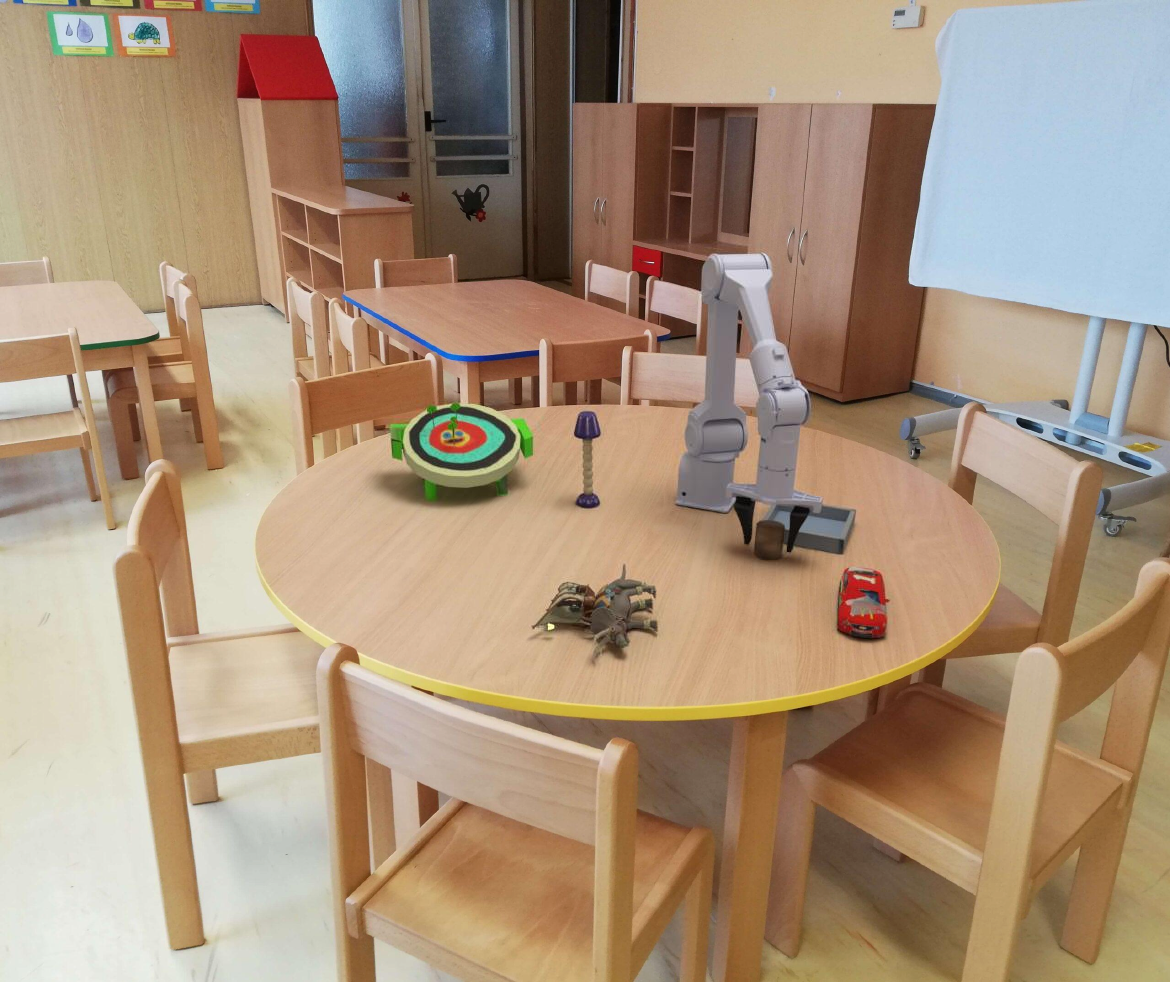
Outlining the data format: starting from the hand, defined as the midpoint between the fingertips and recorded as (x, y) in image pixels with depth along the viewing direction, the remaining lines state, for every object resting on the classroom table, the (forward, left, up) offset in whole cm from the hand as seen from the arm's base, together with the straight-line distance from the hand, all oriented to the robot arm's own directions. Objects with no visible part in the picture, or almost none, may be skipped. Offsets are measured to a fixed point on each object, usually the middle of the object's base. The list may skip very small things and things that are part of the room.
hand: (768, 546), depth 147 cm
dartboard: (-57, +4, -2) cm, 57 cm away
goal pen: (+4, +12, -1) cm, 13 cm away
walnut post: (0, 0, -2) cm, 2 cm away
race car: (+16, -13, -2) cm, 21 cm away
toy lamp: (-34, +7, -2) cm, 35 cm away
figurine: (-17, -32, -2) cm, 36 cm away
